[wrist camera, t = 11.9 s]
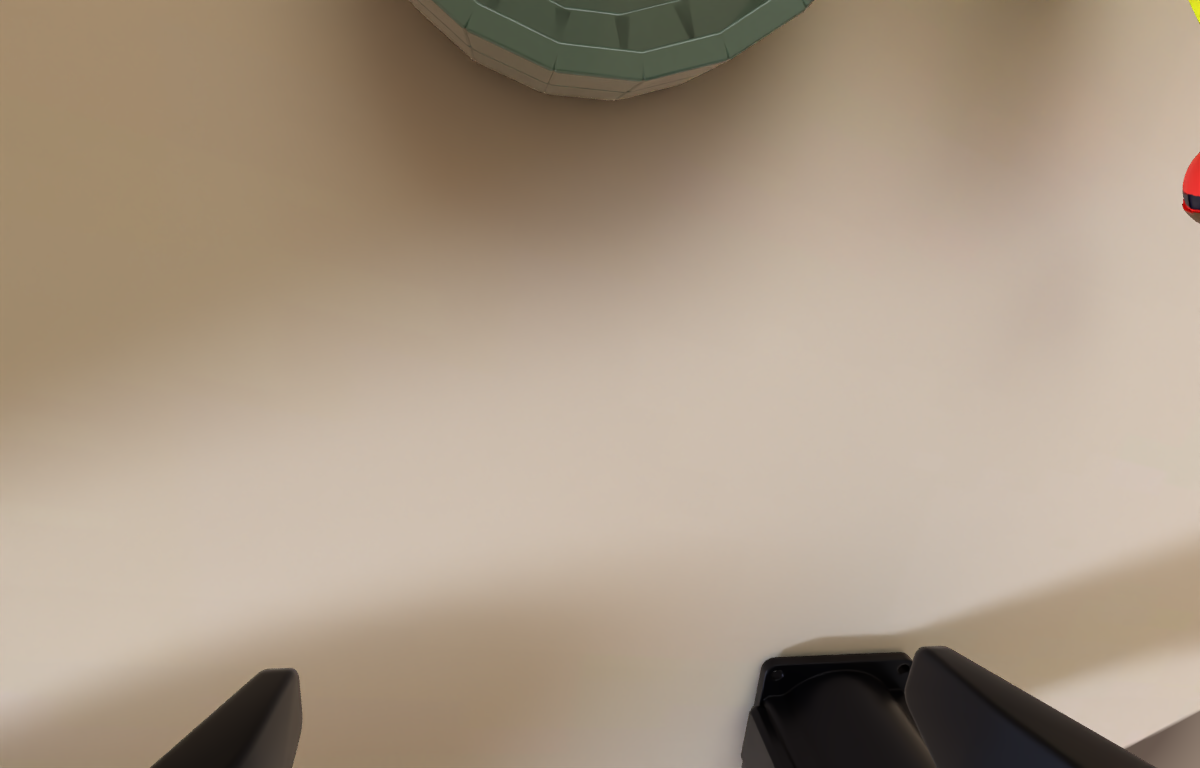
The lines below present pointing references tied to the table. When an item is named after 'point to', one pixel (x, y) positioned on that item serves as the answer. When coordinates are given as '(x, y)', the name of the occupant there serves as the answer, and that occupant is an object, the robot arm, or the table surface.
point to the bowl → (606, 39)
